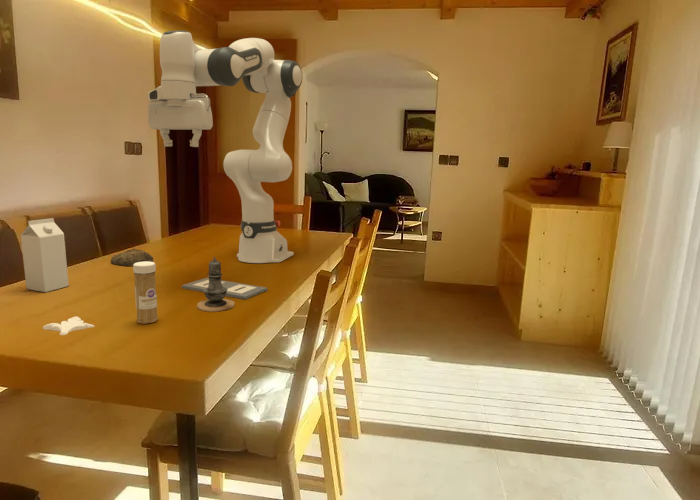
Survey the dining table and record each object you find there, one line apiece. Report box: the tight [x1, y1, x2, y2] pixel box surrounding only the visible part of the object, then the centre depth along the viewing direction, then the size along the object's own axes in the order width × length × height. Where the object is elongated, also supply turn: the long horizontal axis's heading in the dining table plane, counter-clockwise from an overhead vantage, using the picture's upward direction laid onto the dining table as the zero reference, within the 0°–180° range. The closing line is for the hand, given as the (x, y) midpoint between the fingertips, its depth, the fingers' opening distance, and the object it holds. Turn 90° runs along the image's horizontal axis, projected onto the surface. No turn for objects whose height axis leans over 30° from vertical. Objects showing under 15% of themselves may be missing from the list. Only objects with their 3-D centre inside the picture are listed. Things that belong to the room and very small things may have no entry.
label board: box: [181, 277, 268, 300], centre depth 135 cm, size 10×22×1 cm, turn 65°
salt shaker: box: [202, 256, 228, 307], centre depth 119 cm, size 6×6×12 cm
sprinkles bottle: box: [132, 261, 159, 325], centre depth 107 cm, size 5×5×13 cm
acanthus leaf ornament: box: [42, 316, 95, 336], centre depth 103 cm, size 8×7×2 cm
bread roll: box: [110, 248, 154, 267], centre depth 165 cm, size 13×12×5 cm
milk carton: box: [20, 217, 70, 293], centre depth 130 cm, size 7×7×19 cm
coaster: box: [196, 298, 236, 313], centre depth 120 cm, size 9×9×1 cm
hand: (181, 146), depth 132 cm, fingers open, 8 cm apart
